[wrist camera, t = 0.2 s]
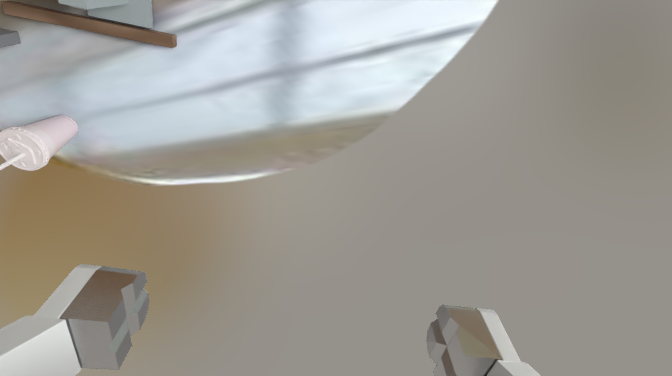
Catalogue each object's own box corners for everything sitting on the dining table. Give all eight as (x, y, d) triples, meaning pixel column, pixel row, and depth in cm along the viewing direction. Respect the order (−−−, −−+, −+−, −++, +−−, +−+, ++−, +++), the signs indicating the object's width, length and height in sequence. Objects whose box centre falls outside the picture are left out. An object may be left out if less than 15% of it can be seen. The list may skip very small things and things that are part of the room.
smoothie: (69, 150, 59) (2, 194, 47) (35, 119, 56) (-46, 157, 44) (95, 132, 58) (32, 173, 46) (62, 99, 55) (-15, 133, 43)
